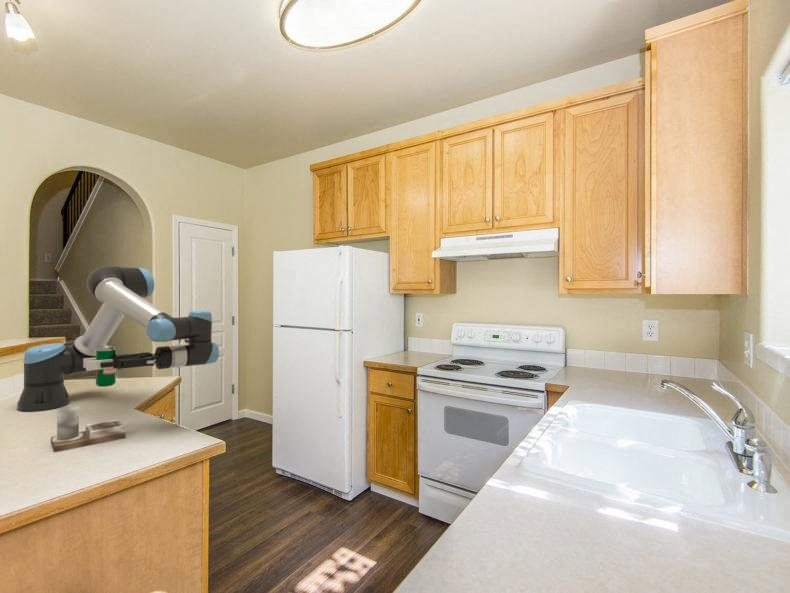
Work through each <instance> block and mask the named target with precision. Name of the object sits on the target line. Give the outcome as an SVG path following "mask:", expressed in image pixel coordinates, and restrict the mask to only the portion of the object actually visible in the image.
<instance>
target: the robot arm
mask: <svg viewBox="0 0 790 593" xmlns="http://www.w3.org/2000/svg"><path fill="white" fill-rule="evenodd" d="M86 288H87V291H88V292H89V294H90V295H91V296H92V297H94V298H95V299H97V300H98V301H99V302H101V303H102V304H101V307H100V308H99V309H98V311H97V313H96V315H95V316H94V318H93V319H92V321H91V322H90V324H89V326H88V327H87V329H86V331H85V332H84V334H83V335H81V336H78V337H77V338H75V340H74V341H73V343H72V344H71V345H65V344H64V343H61V342H56V343H55V342H52V343H46V344H40V345H34V346H31V347H29V348H28V349H26V350H25V351H24V356H23V389H22V392H21V394H20V396H19V399H18V400H17V404H16V405H17V406H16V409H17V411H20V412H39V411H47V410H53V409H59V408H63V407H66V406H67V405H68V404H70V396H69V393H68V391H67V389H66V386H65V376H70V375H77V374H82V373H83V374H84V373H88V372H89V373H90V372H93V371H96V370H99V369H109V368H113V367H114V368H116V370H117V369H118V370H121V369H129V368H131V369H132V368H139V367H153V366H155V367H156V369H157V370H166V369H170V368H177V369H178V370H179V369H181V368H182V367H193V366H205V365H210V364H214V363H216V362H217V361H218V360H219V355H220V350H219V346H218V344H217V343H215V342H212V335H213V332H212V331H213V330H212V329H213V328H212V326H213V315H212V312H211V311H209V310H190V311H189V312H188V316H183V317H182V316H181V317H174V316H172V315H170V314H168V313H166V312H165V311H163V310H162V309H160V308H159V307H157V306H156V305H154V304H153V303H151V302H150V301H148V300H146V299H145V298H148V297H151V296H152V295H153V293H154V291H155V279H154V276H153V274H152V273H151V272H150V271H149V270H148V269H145V268H141V267H138V266H136V267H132V266H131V267H129V266H113V265H104V266H100V267H97V268H96V269H94V270H92V271H91V272H90V273H89V275H88V276H87V279H86ZM125 316H127V317H129V318H130V319H131V320H133V321H134V322H136V323H137V324H139V325H141V326H142V327H143V328H144V329H146V334H147V336H148V338H149V340H151V341H152V342H155V343H161V342H162V343H166V342H172V341H179V340H188V341H187V342H188V344H178V345H177V344H176V345H171V346H169V345H168V346H167V345H166V346H163V345H162V346H157V347H156V348H155V351H154V353H151V352H148V351H146V352H139V353H127V354H116V357H114V362H113V359H108V360H96V350H97V349H98V347H100V346H108V342H109V340H110V339H111V337H112V336H113V335H114V333H115V331H116V330H117V329H118V327H119V325H120V324H121V322H122V320H123V319H124V317H125Z"/></svg>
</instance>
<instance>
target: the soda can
mask: <svg viewBox="0 0 790 593" xmlns="http://www.w3.org/2000/svg"><path fill="white" fill-rule="evenodd" d="M116 355H117V349H116V347H115V345H107V346H100V347H98V349H97V350H96V360H108V359H113V362H114V357H116ZM116 377H117V368H114V367H113V368H109V369H99V370H95V385H96V386H97V387H99V388H100V387H101V388H102V387H103V388H104V387H105V388H106V387H111V386H113V385H115V384H116V382H117V378H116Z"/></svg>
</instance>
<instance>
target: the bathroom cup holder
mask: <svg viewBox="0 0 790 593" xmlns="http://www.w3.org/2000/svg"><path fill="white" fill-rule="evenodd" d="M56 410H57V411H56V414H57V415H56V435H54V436H50V444H51V447H52V451H53V453H56V452H60V451H67V450H71V449H76V448H82V447H86V446H91V445H96V444H97V445H98V444H100V443H107V442H110V441H116V440H121V439H126V435H127V434H126V432H125V425H124V423H122V421H120V419H113V420H107V421H106V420H105V421H102V422H101V421H100V422H95V423H89V424H85V430H81V431H80V430H79V428H80V406H78V405H69V406H62V407H59V408H57V409H56Z"/></svg>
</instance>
